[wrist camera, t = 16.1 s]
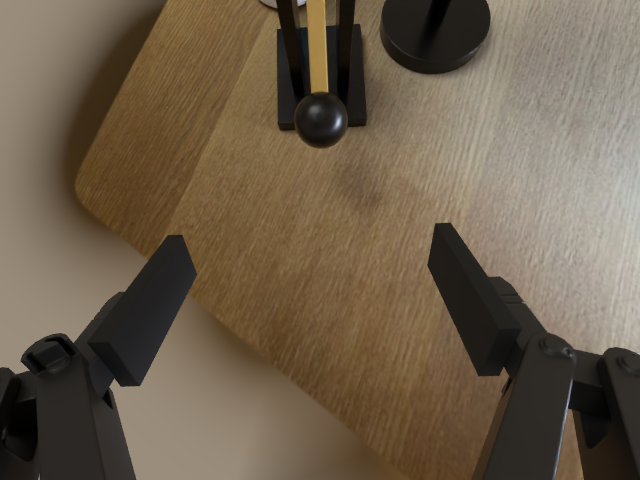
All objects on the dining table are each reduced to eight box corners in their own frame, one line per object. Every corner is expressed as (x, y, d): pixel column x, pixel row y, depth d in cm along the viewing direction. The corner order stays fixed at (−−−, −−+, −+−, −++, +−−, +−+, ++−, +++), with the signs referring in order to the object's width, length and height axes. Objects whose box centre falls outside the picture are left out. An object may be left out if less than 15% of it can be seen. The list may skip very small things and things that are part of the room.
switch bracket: (365, 126, 28) (396, -35, 14) (279, 130, 28) (231, -23, 15) (359, 34, 30) (381, -185, 16) (279, 39, 30) (235, -172, 17)
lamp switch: (346, 146, 23) (350, 147, 19) (298, 149, 23) (293, 150, 19) (341, -79, 18) (345, -129, 15) (283, -74, 19) (273, -123, 15)
